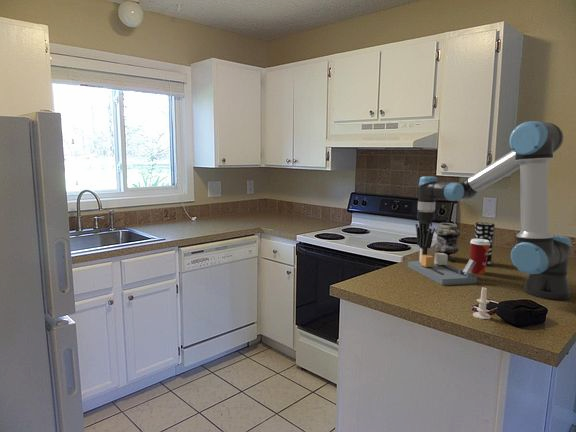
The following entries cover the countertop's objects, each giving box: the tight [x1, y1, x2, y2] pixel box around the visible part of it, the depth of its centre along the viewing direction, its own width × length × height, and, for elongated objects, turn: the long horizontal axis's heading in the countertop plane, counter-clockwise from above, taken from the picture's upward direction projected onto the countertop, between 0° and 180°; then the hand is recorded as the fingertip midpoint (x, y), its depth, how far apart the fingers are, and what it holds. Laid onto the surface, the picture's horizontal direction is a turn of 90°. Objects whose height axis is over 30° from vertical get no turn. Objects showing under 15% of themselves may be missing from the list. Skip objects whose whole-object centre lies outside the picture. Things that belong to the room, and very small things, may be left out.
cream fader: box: [434, 252, 448, 265], centre depth 190 cm, size 4×4×4 cm
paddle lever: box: [462, 258, 476, 275], centre depth 174 cm, size 3×2×7 cm, turn 13°
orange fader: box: [421, 254, 435, 267], centre depth 186 cm, size 4×4×4 cm
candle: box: [472, 285, 491, 320], centre depth 136 cm, size 5×5×10 cm
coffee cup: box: [469, 238, 490, 275], centre depth 187 cm, size 8×8×15 cm
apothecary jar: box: [433, 222, 461, 262], centre depth 211 cm, size 12×12×18 cm
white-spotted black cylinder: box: [473, 221, 496, 267], centre depth 202 cm, size 8×8×20 cm
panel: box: [407, 260, 478, 286], centre depth 183 cm, size 28×16×4 cm, turn 13°
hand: (422, 261), depth 190 cm, fingers closed
